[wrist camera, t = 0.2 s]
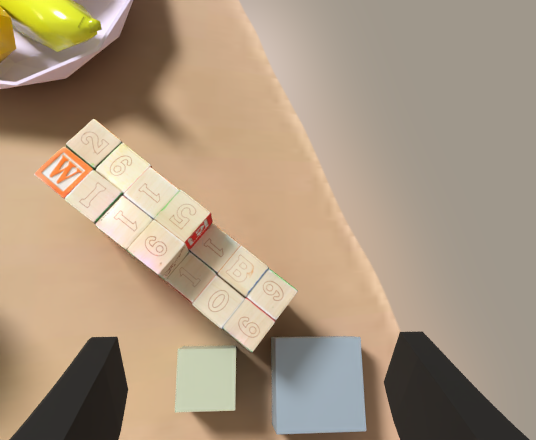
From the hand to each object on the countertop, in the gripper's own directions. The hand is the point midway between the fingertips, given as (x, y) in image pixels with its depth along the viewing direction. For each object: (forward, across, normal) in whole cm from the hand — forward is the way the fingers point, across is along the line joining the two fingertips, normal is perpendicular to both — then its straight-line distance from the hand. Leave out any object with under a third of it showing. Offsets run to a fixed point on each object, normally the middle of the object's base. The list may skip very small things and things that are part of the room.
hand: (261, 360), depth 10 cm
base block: (+18, -7, +26) cm, 32 cm away
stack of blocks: (+27, +6, +17) cm, 32 cm away
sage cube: (+19, +3, +25) cm, 31 cm away
